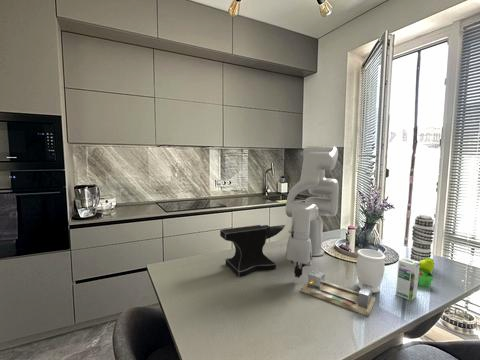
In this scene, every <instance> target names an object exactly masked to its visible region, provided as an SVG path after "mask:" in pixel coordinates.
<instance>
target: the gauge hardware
mask: <svg viewBox="0 0 480 360" xmlns="http://www.w3.org/2000/svg"><path fill="white" fill-rule="evenodd" d="M324 285H327V286H330V287H333V288H336V289H339V290H342V291H345V292H348V293H351V294H354V295H357V296H359V299H358V306H360V307H363V308H365V309H367V308H368V306H369V304H370V301H371V299H372V297H373V293H372V287H373V286H369V285H366V284H364V285H363V286H362V288H360V290H359V291H358V292H359V294H358V293H355V292H352V291H349V290H346V289H343V288H340V287H337V286H334V285H331V284H328V283H325V282H324ZM307 287H309V288H312V289H313V288H314V289H317V290H319V291H322V292H325V293H328V294H331V295H334V296H336V297H339V298H342V299H345V300H348V301H350V302H353V303H354V304H356V301H353V300H350V299H347V298H344V297H342V296H339V295H336V294H333V293H330V292H327V291H324V290H322V289H319V288H316V287H313V286H310V285H307Z"/></svg>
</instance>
